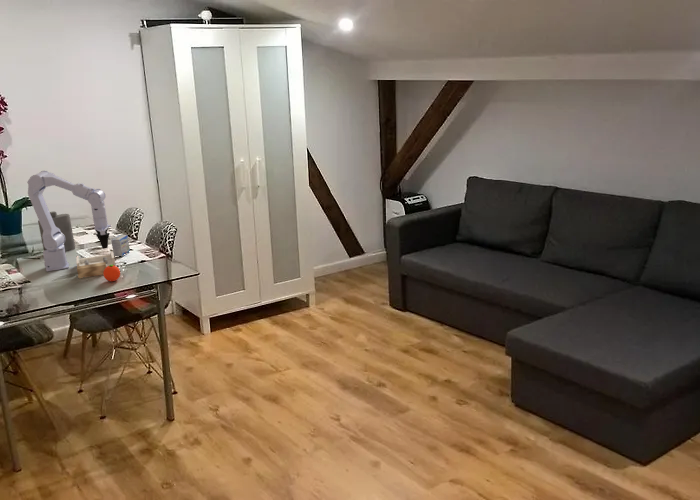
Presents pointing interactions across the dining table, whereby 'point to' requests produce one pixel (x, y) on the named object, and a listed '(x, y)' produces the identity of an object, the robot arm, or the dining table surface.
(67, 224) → the flask
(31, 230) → the dining table surface
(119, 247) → the medicine box
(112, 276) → the clementine
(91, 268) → the wooden block
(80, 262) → the peg frame
